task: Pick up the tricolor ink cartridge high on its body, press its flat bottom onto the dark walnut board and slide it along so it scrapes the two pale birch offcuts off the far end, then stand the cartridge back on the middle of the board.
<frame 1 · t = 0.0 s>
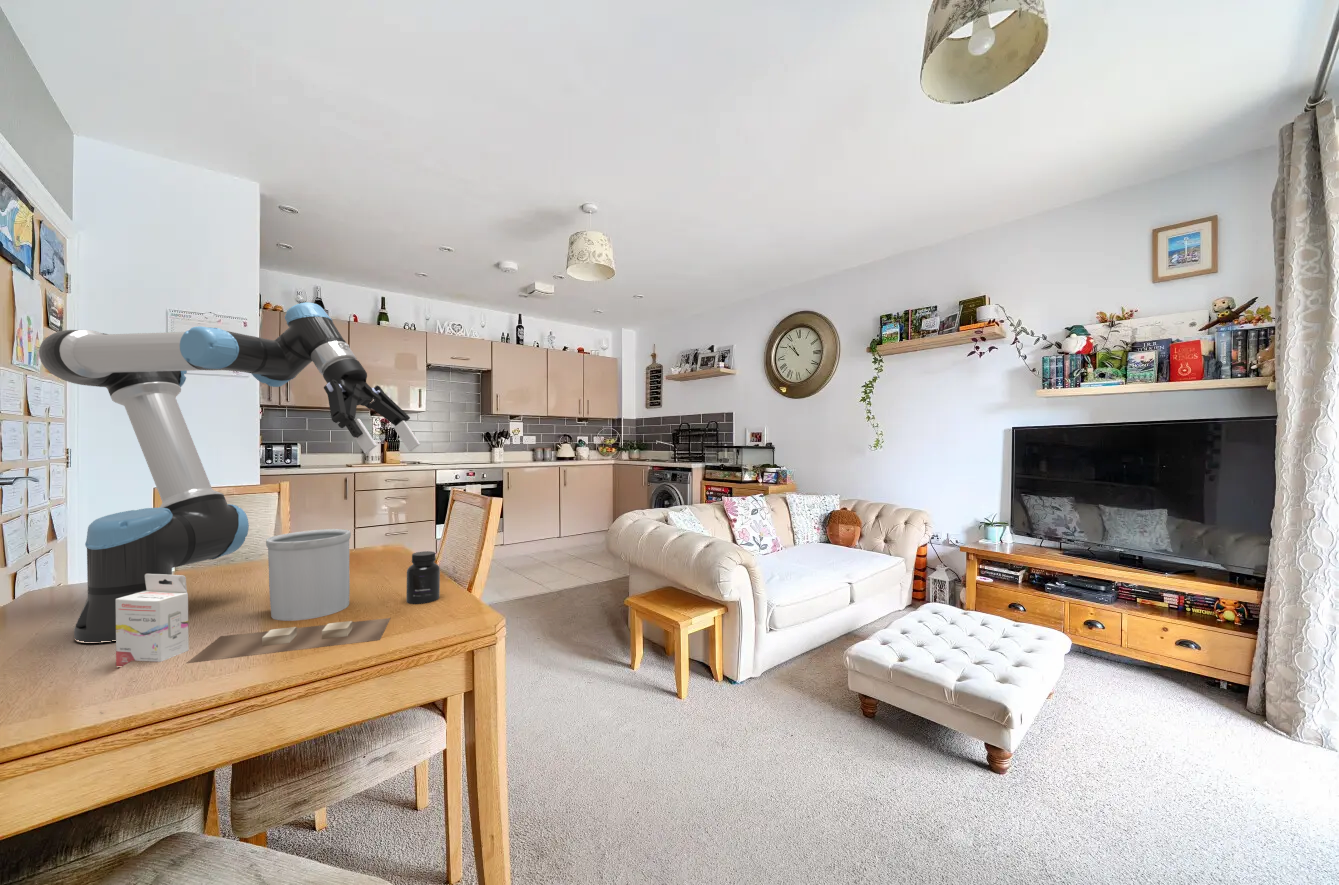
hand: (394, 448, 108), 36 cm above the table, tool tilted 35°, fingers open, 13 cm apart
near offcut: (280, 640, 94), point 1 cm above the table, touching walnut board
utensil holder: (310, 617, 111), on the table
walnut board: (299, 646, 95), on the table
ink cartridge box: (153, 664, 87), on the table
supplement bottle: (423, 606, 117), on the table
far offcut: (337, 633, 97), point 1 cm above the table, touching walnut board
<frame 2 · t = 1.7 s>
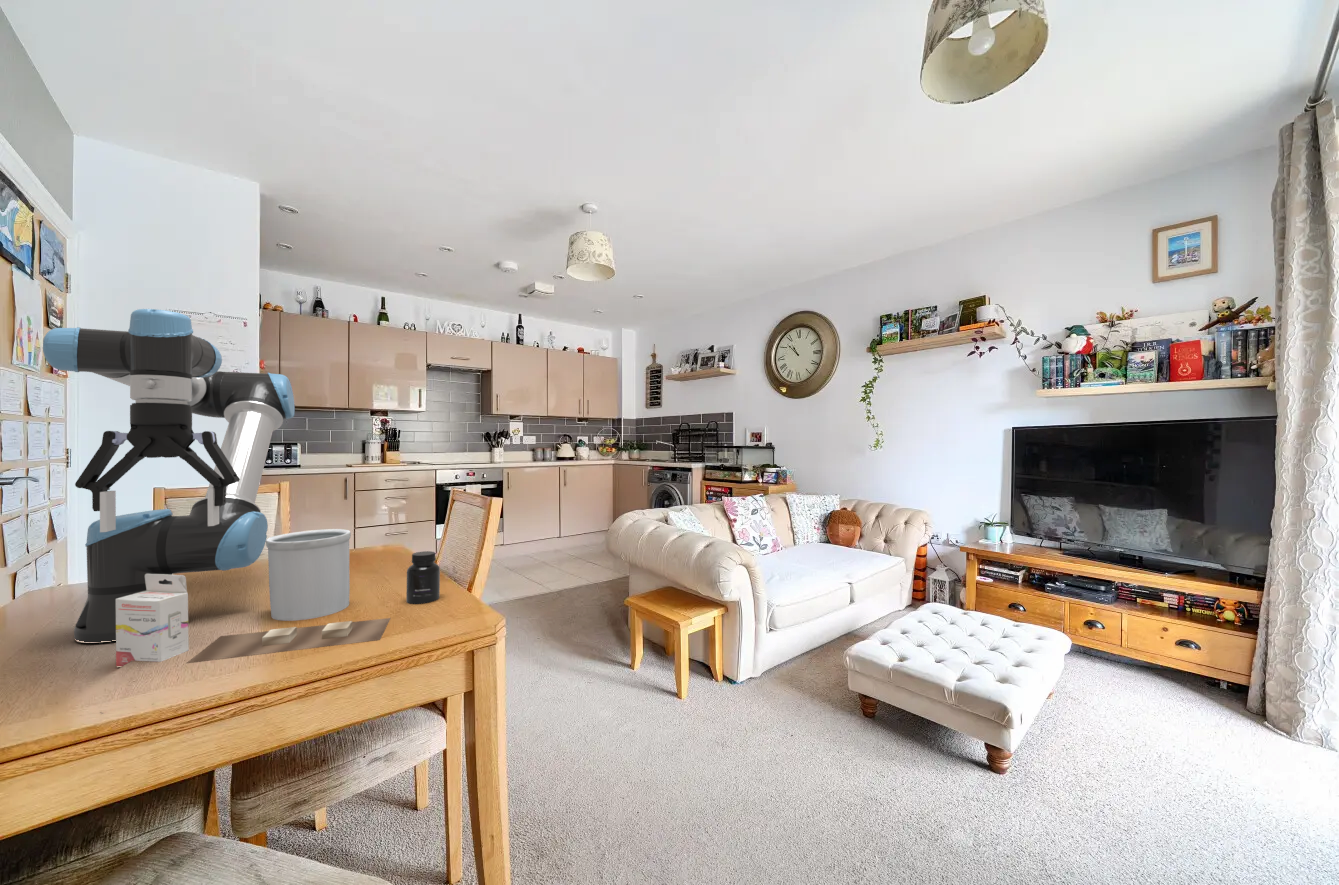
hand: (162, 528, 87), 23 cm above the table, tool pointing down, fingers open, 13 cm apart
nothing on the table moved.
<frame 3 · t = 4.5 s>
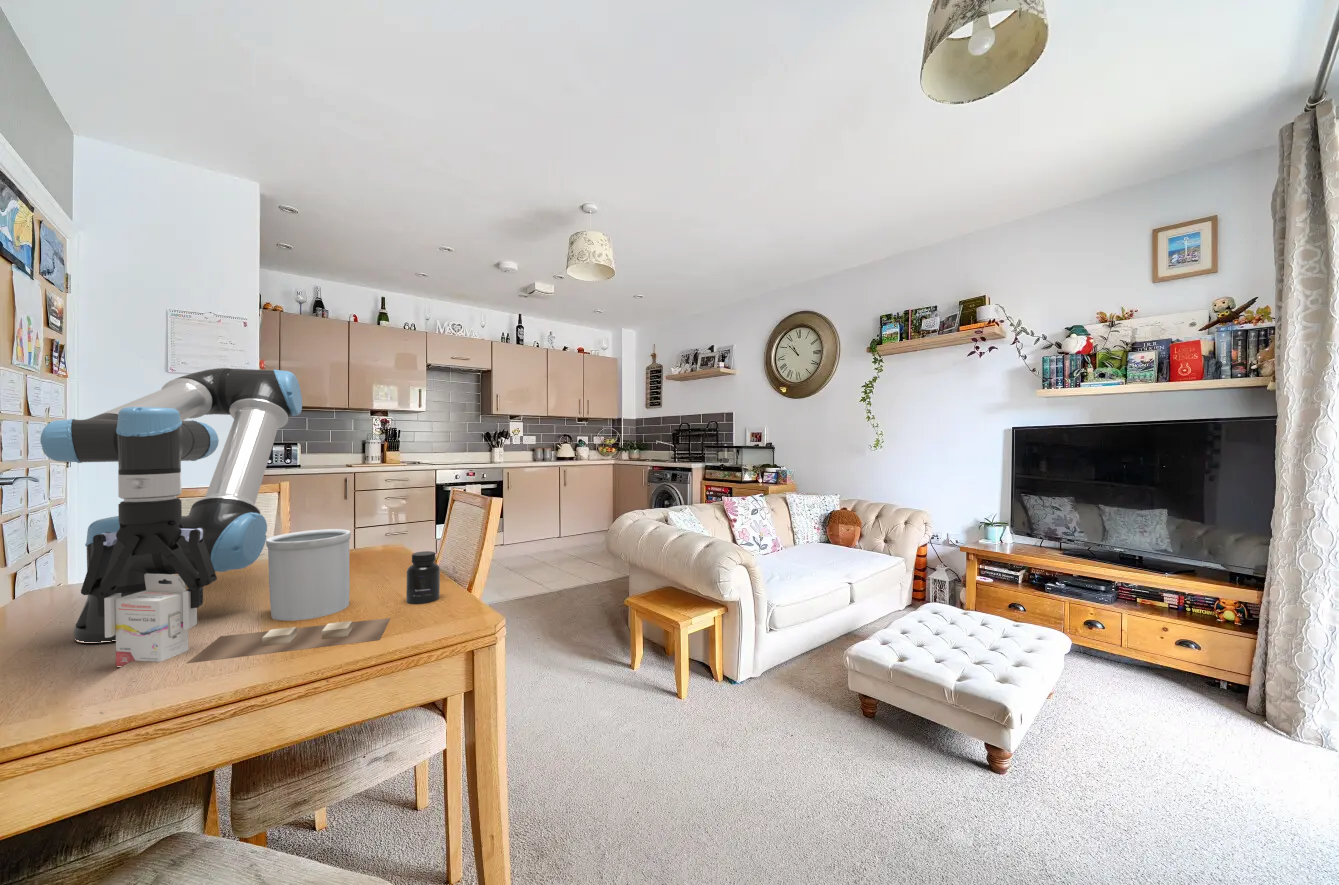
hand: (152, 630, 87), 6 cm above the table, tool pointing down, fingers closed on ink cartridge box, 9 cm apart
ink cartridge box: (152, 664, 87), on the table, touching gripper
everything else where it was.
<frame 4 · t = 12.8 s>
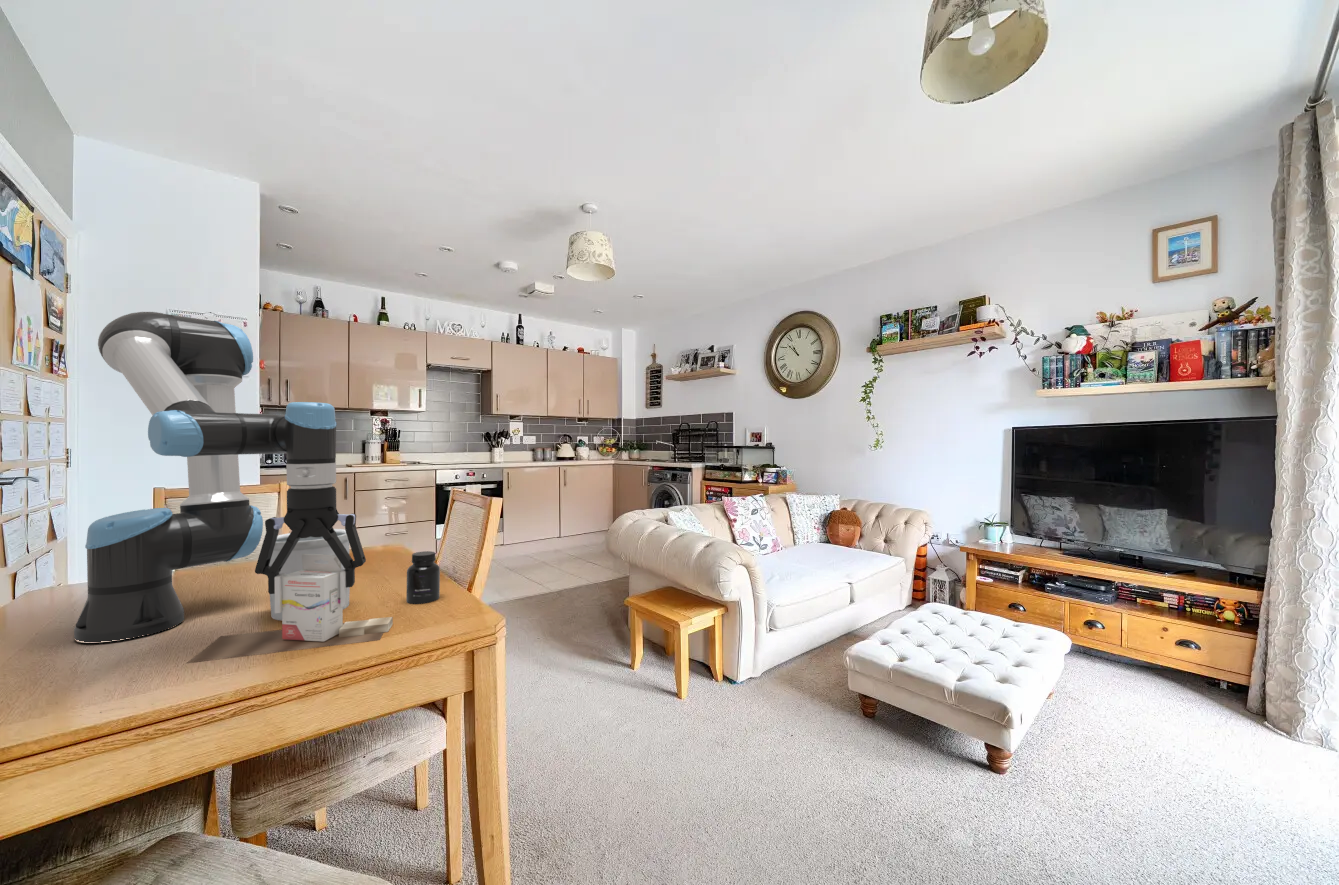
hand: (313, 607, 95), 7 cm above the table, tool pointing down, fingers closed on ink cartridge box, 9 cm apart
near offcut: (354, 632, 97), point 2 cm above the table, touching ink cartridge box
ink cartridge box: (313, 637, 95), point 1 cm above the table, touching gripper, near offcut
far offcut: (378, 629, 99), point 2 cm above the table, touching walnut board
everything else where it was.
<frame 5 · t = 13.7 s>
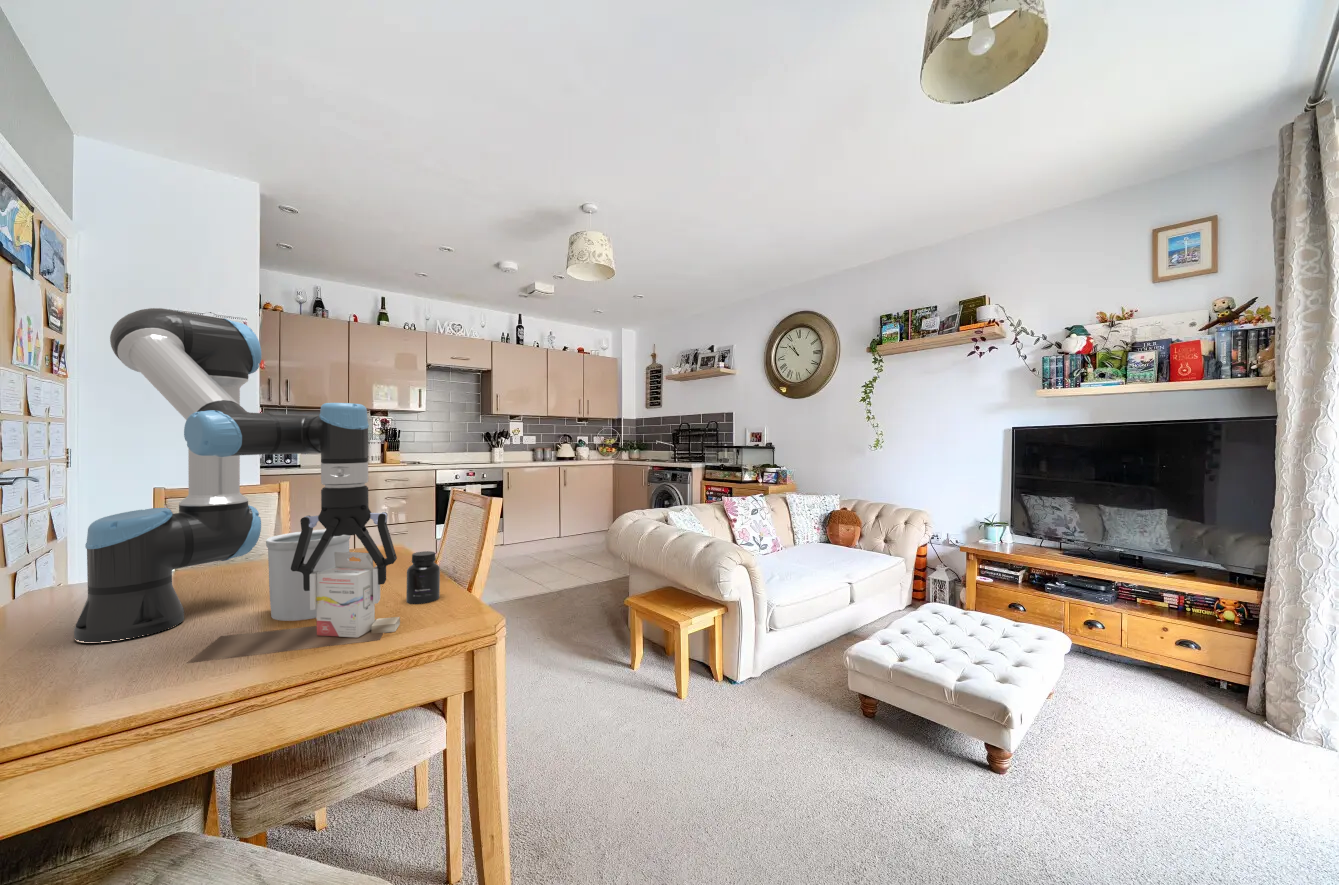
hand: (346, 604, 97), 7 cm above the table, tool pointing down, fingers closed on ink cartridge box, 9 cm apart
near offcut: (386, 628, 99), point 2 cm above the table, touching walnut board
ink cartridge box: (346, 633, 97), point 1 cm above the table, touching gripper
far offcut: (402, 636, 101), on the table
everything else where it was.
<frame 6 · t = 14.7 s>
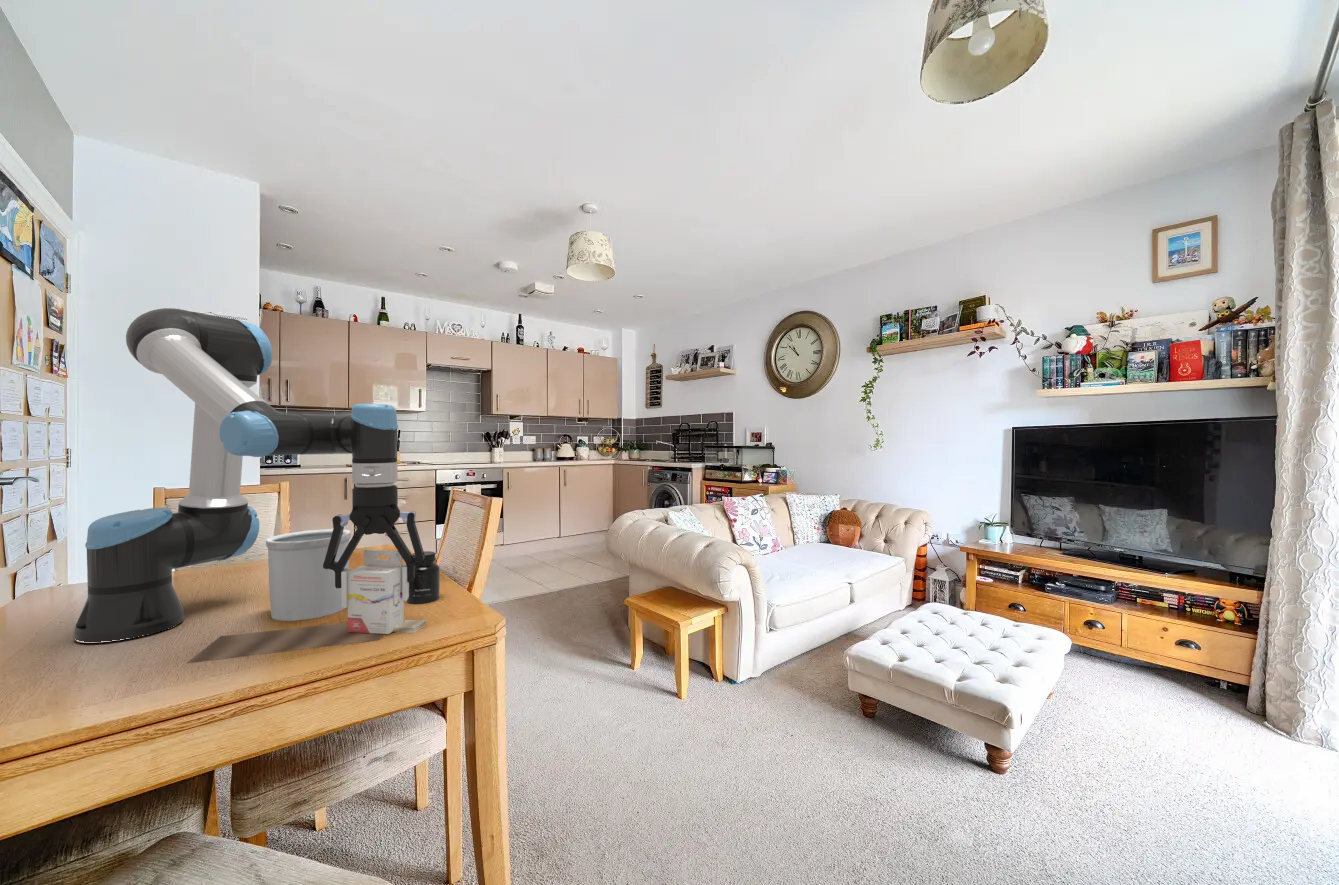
hand: (376, 601, 99), 7 cm above the table, tool pointing down, fingers closed on ink cartridge box, 9 cm apart
near offcut: (410, 631, 99), point 1 cm above the table, touching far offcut
ink cartridge box: (376, 630, 99), point 1 cm above the table, touching gripper
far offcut: (404, 636, 101), on the table, touching near offcut
everything else where it was.
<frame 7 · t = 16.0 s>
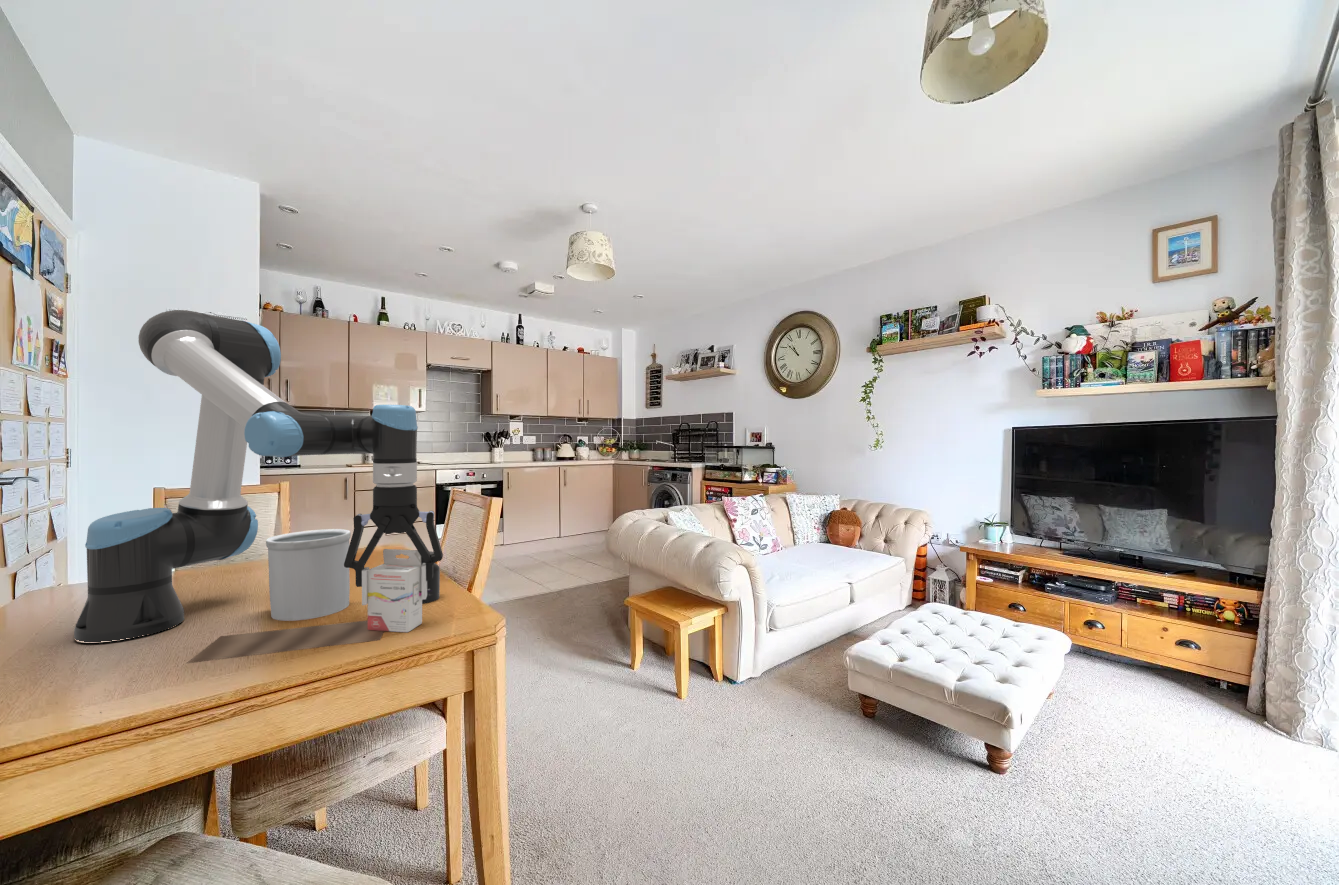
hand: (395, 600, 100), 7 cm above the table, tool pointing down, fingers closed on ink cartridge box, 9 cm apart
near offcut: (426, 637, 100), on the table
ink cartridge box: (395, 628, 100), point 1 cm above the table, touching gripper, walnut board
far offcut: (403, 635, 101), on the table
everything else where it was.
when the fingers open (8 cm above the table, at t = 21.8 s): ink cartridge box drops 1 cm, resting on walnut board.
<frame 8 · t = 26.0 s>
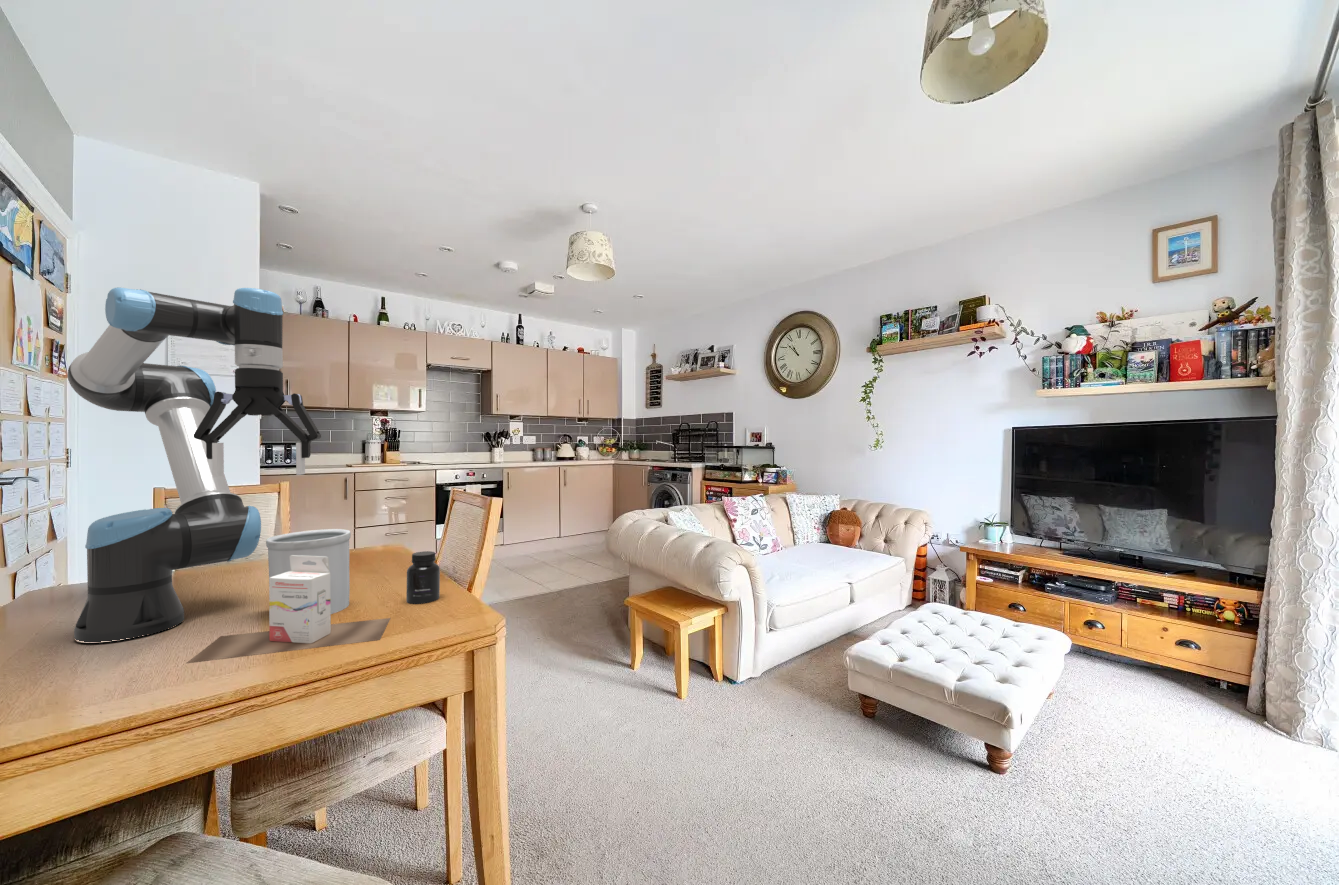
hand: (260, 475, 103), 31 cm above the table, tool pointing down, fingers open, 13 cm apart
ink cartridge box: (300, 639, 95), point 1 cm above the table, touching walnut board
everything else where it was.
at the end: near offcut inside the target area (2.1 cm from its centre), on the table; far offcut inside the target area (4.0 cm from its centre), on the table; ink cartridge box inside the target area (0.1 cm from its centre), point 1.3 cm above the table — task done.
